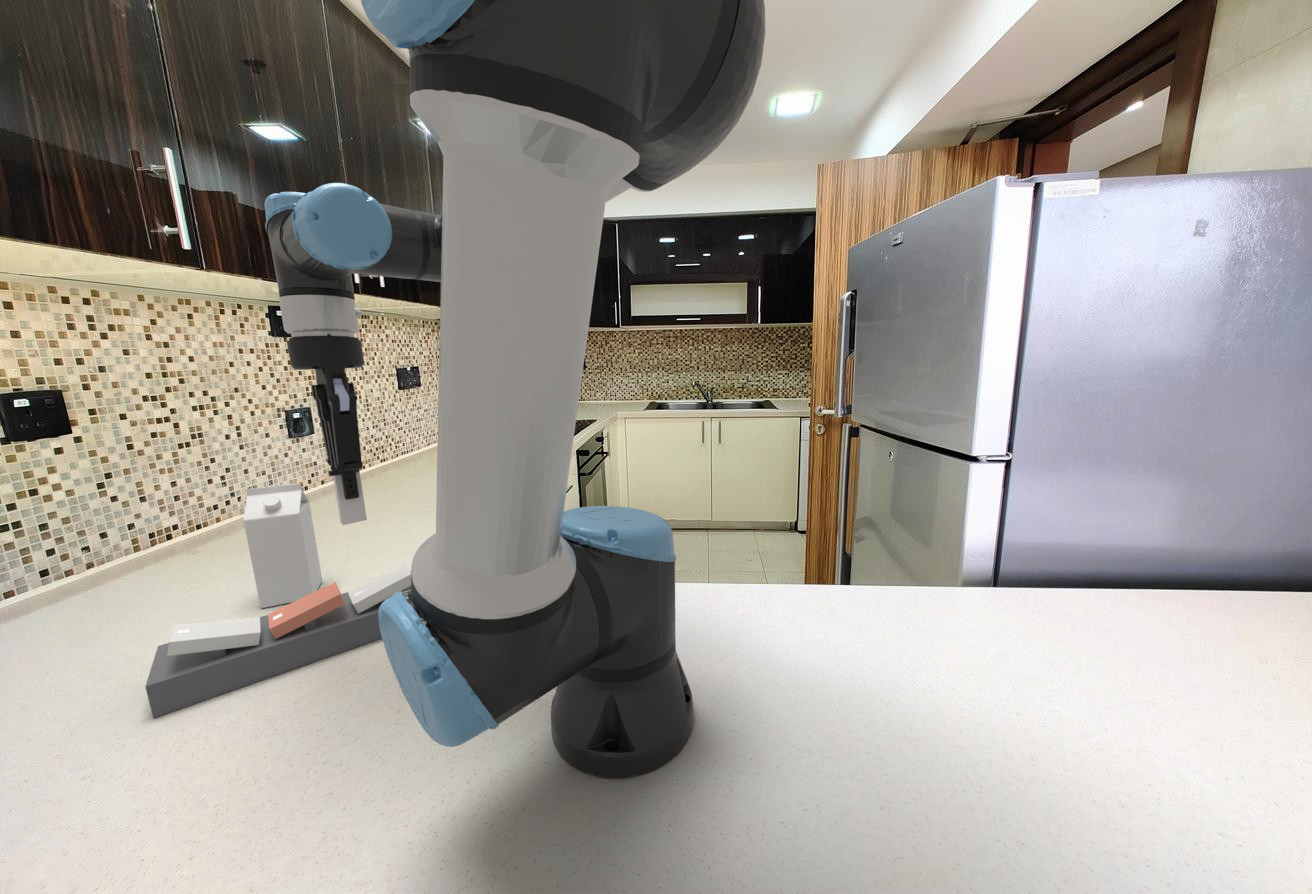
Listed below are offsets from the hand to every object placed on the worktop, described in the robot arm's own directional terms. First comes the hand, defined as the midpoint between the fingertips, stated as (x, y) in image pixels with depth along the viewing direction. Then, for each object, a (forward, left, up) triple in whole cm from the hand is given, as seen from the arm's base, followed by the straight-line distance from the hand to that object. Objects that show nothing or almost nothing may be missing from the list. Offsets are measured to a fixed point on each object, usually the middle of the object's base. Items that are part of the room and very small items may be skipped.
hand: (353, 521), depth 62 cm
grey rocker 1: (+5, +15, -12) cm, 20 cm away
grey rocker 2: (+5, -3, -12) cm, 13 cm away
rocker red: (+5, +6, -12) cm, 14 cm away
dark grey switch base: (+6, +3, -18) cm, 19 cm away
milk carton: (+26, +7, -18) cm, 33 cm away
